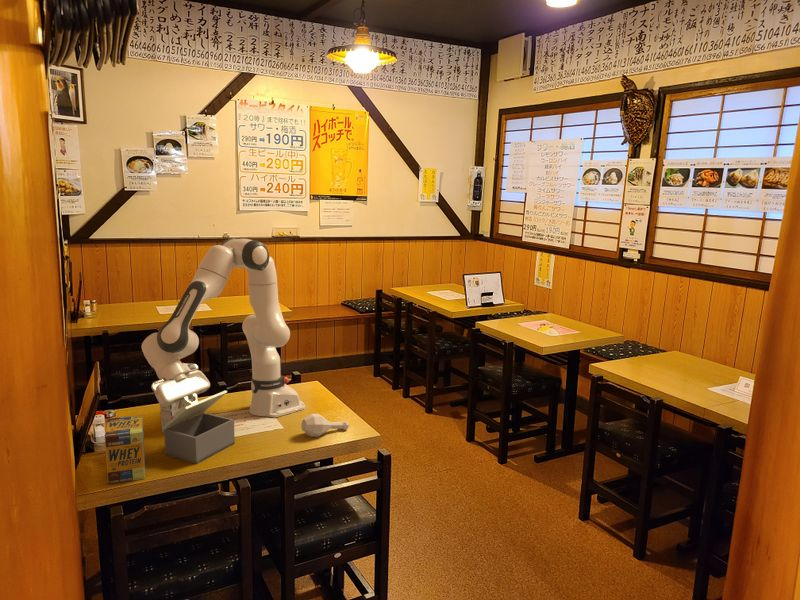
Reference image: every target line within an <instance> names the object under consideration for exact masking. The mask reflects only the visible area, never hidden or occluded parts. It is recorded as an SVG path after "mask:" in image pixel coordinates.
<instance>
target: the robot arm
mask: <svg viewBox="0 0 800 600" xmlns="http://www.w3.org/2000/svg"><path fill="white" fill-rule="evenodd" d="M269 252H270V251H269V249H268V247H267V246H266V245H265V244H264V243H263V242H261V241H259V240H255V239H249V238H228V239H226V240H223V241H222V242H221V243H220V244H216V245H212V246H211V247H209V249H208V250H207V252H206V253H205V255H204V256H203V258H202V260H201V262H200V263H199V265H198V268H197V270H196V272H195V274H194V276H193V278H192V280H191V282H190V284H189V285H188V287H187V288H186V290H185V291H184V293H183V294H182V296H181V298H180V299H179V302H178V304H177V306H176V307H175V309H174V311H173V313H172V314H171V316H170V317H169V318H168V320H167V321H166V322H165V323H164V324H162V325H161V327H160V328H159V329H158V331H157V332H153V333H151V334H149V335H148V336H146V337H145V338H144V340H143V341H142V343H141V350H142V353H143V356H144V357H145V359H146V361H147V362H148V364H149V365H150V367H151V368H153V369H154V371H155V373H156V376H157V378H158V379H159V380H155V381H153V382H152V384H151V387H150V388H151V389H152V391H153V393H154V395H155V397H156V399H157V402H158V403H159V406H160V405H161V406H163V407H166V406H169V405H171V404H174V403H176V402H179V401H182V403H183V404H185V405H187V406H189V405H191V404H194V403H196V402H199V400H198V395H200V394H203V393H205V392H207V391H208V390H209V389H210V388H211V382H210V381H209V379H208V378H207V377H206V375H205V374H204V373H203V372H202V371H201V370H199V365H197V364H196V363H184V362H182V361H181V360H182V359H184V358H186V357H188V356H190V355H193V354H194V353H195V352H196V351H197V350H198V348H199V345H200V338H199V336H198V335H197V333H196V332H194V330H191V329H190V328H189V327H190V324H191V323H192V320H193V318H194V316H195V315H196V313H197V312H198V311H197V310H198V308H199V307H200V306H201V305H202V303H203V302H205V301H207V300H212V299H215V298H217V297H219V296H220V295H221V294H222V292H223V290H224V289H225V287H226V284H227V283H228V280H229V278H230V275H231V272H233V271H232V270H234V269H235V268H237V269H246V271H247V274H248V275H247V276H248V277H247V280H248V283H247V284H248V295H249V296H248V297H249V299H248V300H249V304H250V306H251V307H252V310H253V312H254V314H250V315H248V316H246V317H245V319H244V320H243V322H242V326H241V329H242V331H243V333H244V335H245V339H246V340H247V345H248V348H249V352H250V357H251V370H252V372H251V373H252V376H251V383H250V384H251V385H250V386H251V392H252V393H251V401H250V406H249V410H248V412H249V413H250V414H251V415H253V416H258V417H269V418H279V417H282V416H285V415H288V414H292V413H295V412H299V411H302V410H305V409H306V404H305V403H304V402H303V401H302V400H301V399H300V396H299V393H298V391H296V390H295V389H294V388H293V387H291V386H289V385H288V384H289V382H290V379H289V378H288V377H287V376H284V375H282V374H281V357H280V355H279V353H278V351H277V348H281V347H284V346H285V345H287V343H288V342H289V340H290V337H291V331H290V330H291V329H290V328H289V327H288V325H287V324H286V321H285V318H284V316H283V312H282V309H281V306H280V301H279V289H278V276H277V275H278V274H277V270H276V269H277V268H276V264H275V261H274V258H273V257H272V256H270V254H269Z"/></svg>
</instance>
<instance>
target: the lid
mask: <svg viewBox="0 0 800 600" xmlns="http://www.w3.org/2000/svg"><path fill="white" fill-rule="evenodd" d="M227 393H228V390H223V391H221V392H219V393H216V394H214V395H211V396H209V397H207V398H205V399H204V398H203V399H201V400H198V402H196V403H194V404H191V405H189V406H187V407H185V408H184V409H182V410H181V411H180V412H179V413H178V414H177V415H176V416H175V417H174V418H172V419H171V420H170V421H169V422H168V423H167V424H166V425H165V426H164V427H162V426H161V430H162V429H163V430H164V429H166V428H169V427H171V426H173V425H175V424H178V423H180V422H182V421H185V420H187V419H190V418H192V417H194V416H197V415H199V414H201V413H206V411H207V410H208V409H210V408H211V407H212V406H213V405H214V404H215V403H217V401H219V400H220V399H221V398H222V397H223V396H225V395H226V394H227Z"/></svg>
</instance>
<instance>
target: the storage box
mask: <svg viewBox="0 0 800 600" xmlns="http://www.w3.org/2000/svg"><path fill="white" fill-rule="evenodd" d="M163 434H164V449H165V450H164V452H165V456H167V455H168V457H171V458H173V459H178V460H182V461H185V462H188V463H192V464H195V465H198V464H200V463H201V462H203V461H205V460H207V459H209V458H210V457H213V456H214V455H216V454H218V453H220V452H222V451H224V450H226V449H228V448H230V447H232V446H233V445H235V443H236V442H235V441H236V440H235V438H236V437H235V419H234V418H233V419H232V418H229V417H225V416H221V415H216V414H213V413H208V412H203V413H201V414H198V415H196V416H194V417H191V418H189V419H188V420H185V421H183V422H181V423H179V424H176V425H174V426H172V427H169V428H167V429H165V430H164V433H163Z"/></svg>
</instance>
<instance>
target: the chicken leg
mask: <svg viewBox="0 0 800 600" xmlns="http://www.w3.org/2000/svg"><path fill="white" fill-rule="evenodd" d="M300 427H301V430H302V432H304V433H305V434H306V435H308V437H310V438H319V437H320V436H322V435H323V434H325V433H326V432H327V431H329V430H337V429H338V430H340V429H341V430H343V431H346V430H348V429H349V427H350V422H348V421H346V420H343V421H342V422H341V421H338V422H336V421H332V422H331V421H329V420H328V419H326V418H325V417H324V416H322V415H321V414H319V413H309V414H308V415H307V416H306V417H305V418H303V420H301V425H300Z"/></svg>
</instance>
